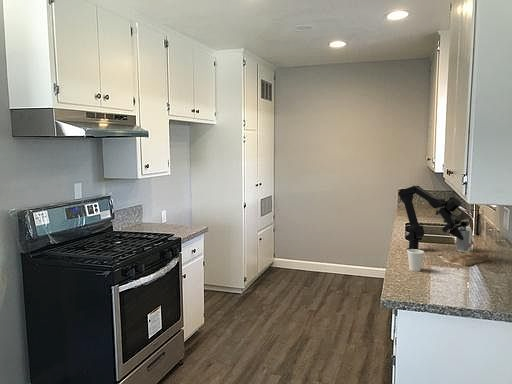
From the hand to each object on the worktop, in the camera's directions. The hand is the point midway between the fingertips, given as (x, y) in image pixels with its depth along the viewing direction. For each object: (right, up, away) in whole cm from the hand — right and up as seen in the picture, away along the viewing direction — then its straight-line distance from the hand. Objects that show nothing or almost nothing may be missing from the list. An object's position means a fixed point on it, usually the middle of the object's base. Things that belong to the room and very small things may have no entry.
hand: (465, 239), depth 236 cm
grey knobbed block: (-1, -6, +2) cm, 6 cm away
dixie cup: (-33, -15, -13) cm, 38 cm away
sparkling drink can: (+13, -11, +29) cm, 33 cm away
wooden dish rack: (+2, -13, +4) cm, 14 cm away
